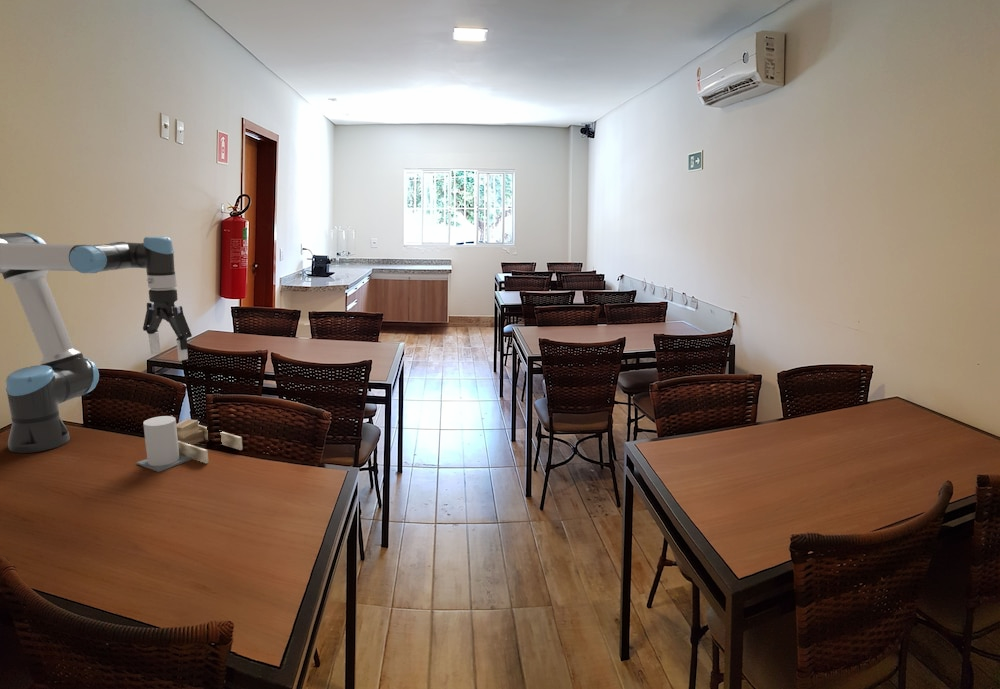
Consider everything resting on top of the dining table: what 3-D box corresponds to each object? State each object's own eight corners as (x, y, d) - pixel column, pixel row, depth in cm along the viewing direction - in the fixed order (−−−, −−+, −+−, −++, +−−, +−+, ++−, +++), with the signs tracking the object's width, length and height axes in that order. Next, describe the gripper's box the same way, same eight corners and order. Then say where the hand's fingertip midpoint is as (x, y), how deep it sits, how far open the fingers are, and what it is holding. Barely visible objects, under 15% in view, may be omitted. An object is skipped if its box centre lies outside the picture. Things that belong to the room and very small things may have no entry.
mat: (137, 464, 178) (136, 462, 177) (169, 452, 186) (169, 450, 186) (158, 472, 173) (158, 470, 173) (191, 459, 181) (191, 457, 181)
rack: (159, 447, 189) (157, 435, 188) (196, 435, 200) (195, 423, 199) (206, 463, 179) (204, 450, 178) (242, 449, 190) (241, 437, 189)
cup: (185, 455, 183) (181, 416, 180) (167, 466, 175) (163, 426, 172) (159, 453, 184) (155, 415, 181) (141, 464, 176) (136, 424, 173)
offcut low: (169, 447, 190) (168, 437, 190) (195, 438, 198) (194, 428, 197) (177, 450, 188) (176, 439, 188) (203, 441, 196) (202, 430, 195)
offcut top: (172, 437, 189) (170, 426, 189) (187, 429, 196) (186, 419, 195) (183, 438, 189) (182, 427, 188) (198, 430, 195) (197, 420, 195)
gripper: (125, 286, 189) (133, 353, 194) (177, 293, 178) (183, 365, 183) (149, 283, 196) (156, 349, 201) (200, 290, 184) (206, 359, 189)
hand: (169, 356), depth 192 cm, fingers open, 13 cm apart
